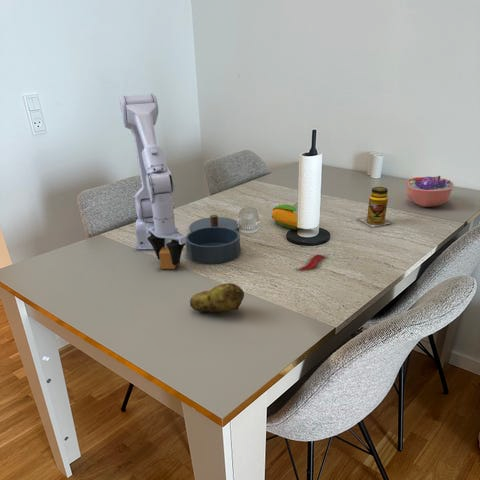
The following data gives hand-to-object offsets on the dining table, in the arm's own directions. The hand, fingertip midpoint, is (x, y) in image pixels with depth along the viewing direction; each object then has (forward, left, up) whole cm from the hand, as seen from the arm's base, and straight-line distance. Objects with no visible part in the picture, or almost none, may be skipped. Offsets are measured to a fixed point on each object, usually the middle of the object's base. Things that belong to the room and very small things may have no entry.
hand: (168, 261), depth 136 cm
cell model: (+89, +56, -2) cm, 105 cm away
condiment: (+66, +37, -2) cm, 76 cm away
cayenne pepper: (+42, +2, -2) cm, 42 cm away
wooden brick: (0, 0, -1) cm, 1 cm away
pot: (+12, +10, -2) cm, 16 cm away
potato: (+17, -26, -2) cm, 31 cm away
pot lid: (+10, +31, -1) cm, 33 cm away
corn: (+38, +31, -2) cm, 49 cm away
